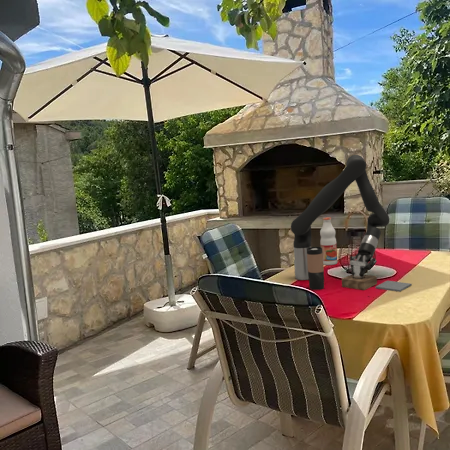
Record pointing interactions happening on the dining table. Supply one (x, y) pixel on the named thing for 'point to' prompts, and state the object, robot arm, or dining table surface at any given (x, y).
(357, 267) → the t key
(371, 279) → the socket block
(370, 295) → the dining table surface
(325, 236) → the fruit juice
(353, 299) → the dining table surface
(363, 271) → the robot arm
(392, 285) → the grey mat
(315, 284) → the travel mug
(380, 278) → the dining table surface
